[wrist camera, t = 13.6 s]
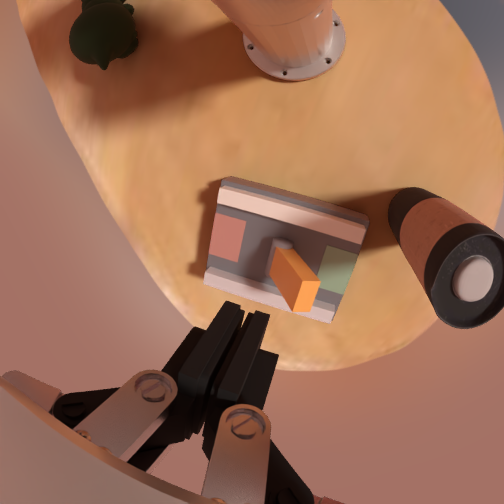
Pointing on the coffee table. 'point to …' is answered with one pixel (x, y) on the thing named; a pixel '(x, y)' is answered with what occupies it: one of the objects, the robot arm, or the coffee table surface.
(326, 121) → the coffee table surface
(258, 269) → the breaker block
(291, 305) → the breaker lever
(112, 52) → the toy figurine
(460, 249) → the travel mug
